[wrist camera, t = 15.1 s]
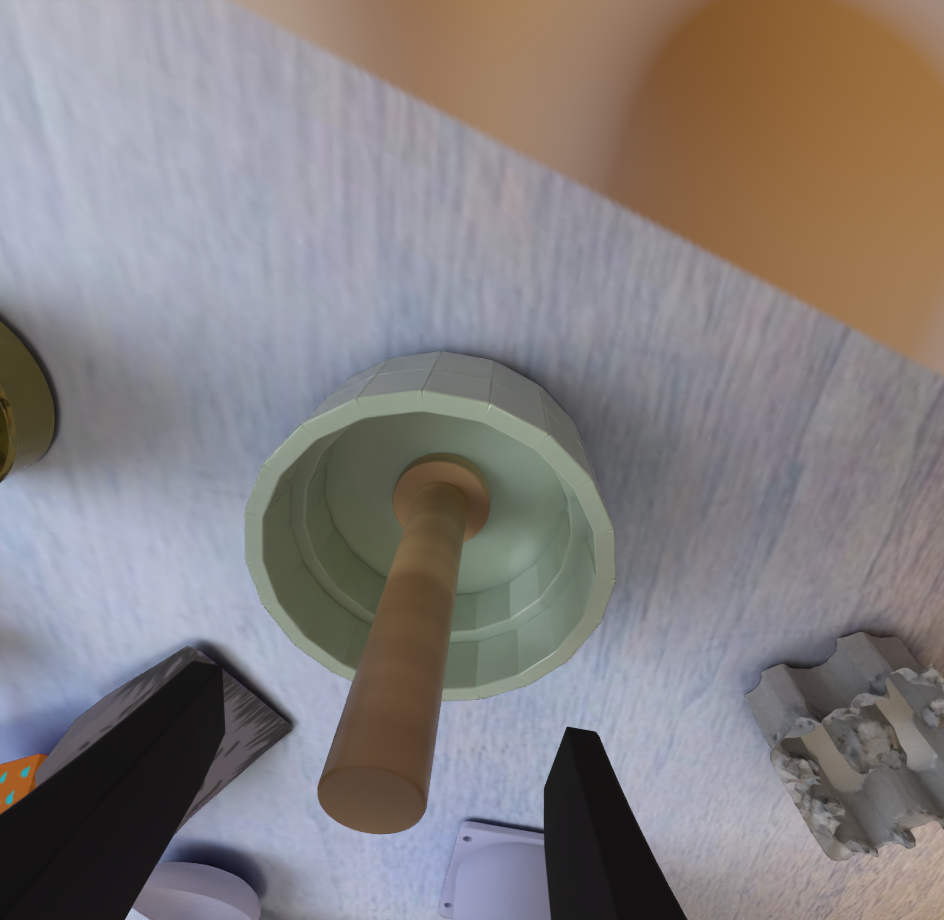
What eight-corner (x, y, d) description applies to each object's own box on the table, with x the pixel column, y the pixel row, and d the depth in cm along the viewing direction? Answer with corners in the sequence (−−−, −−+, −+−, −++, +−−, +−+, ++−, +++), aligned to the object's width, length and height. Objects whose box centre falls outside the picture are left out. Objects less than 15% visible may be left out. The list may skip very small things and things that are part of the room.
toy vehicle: (308, 736, 27) (108, 1272, 14) (73, 815, 34) (-203, 1220, 21) (182, 632, 24) (-232, 1210, 11) (-50, 744, 31) (-466, 1173, 18)
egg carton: (962, 760, 25) (1042, 857, 21) (801, 805, 27) (849, 900, 23) (904, 607, 21) (989, 691, 17) (724, 672, 23) (765, 759, 20)
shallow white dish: (126, 868, 34) (106, 905, 32) (172, 835, 30) (152, 875, 28) (237, 909, 36) (223, 945, 34) (292, 883, 32) (280, 923, 31)
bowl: (552, 625, 23) (563, 726, 18) (299, 579, 23) (246, 670, 18) (628, 381, 18) (669, 436, 13) (308, 320, 18) (240, 356, 13)
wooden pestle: (481, 543, 20) (454, 875, 10) (391, 526, 20) (271, 842, 10) (498, 462, 19) (487, 755, 9) (401, 444, 19) (272, 716, 9)
